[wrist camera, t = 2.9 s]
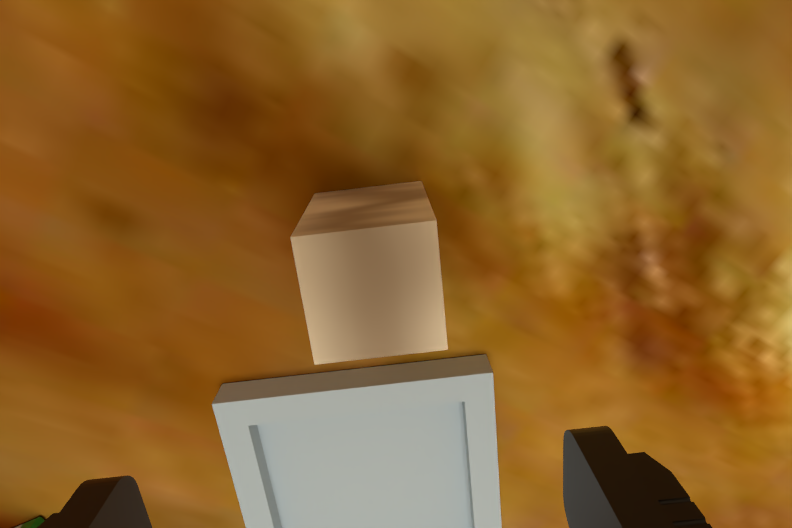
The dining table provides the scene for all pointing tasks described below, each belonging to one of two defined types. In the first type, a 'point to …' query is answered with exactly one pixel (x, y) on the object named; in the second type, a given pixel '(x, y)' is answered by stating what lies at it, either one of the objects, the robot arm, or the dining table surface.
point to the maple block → (370, 273)
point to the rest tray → (365, 447)
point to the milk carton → (32, 523)
